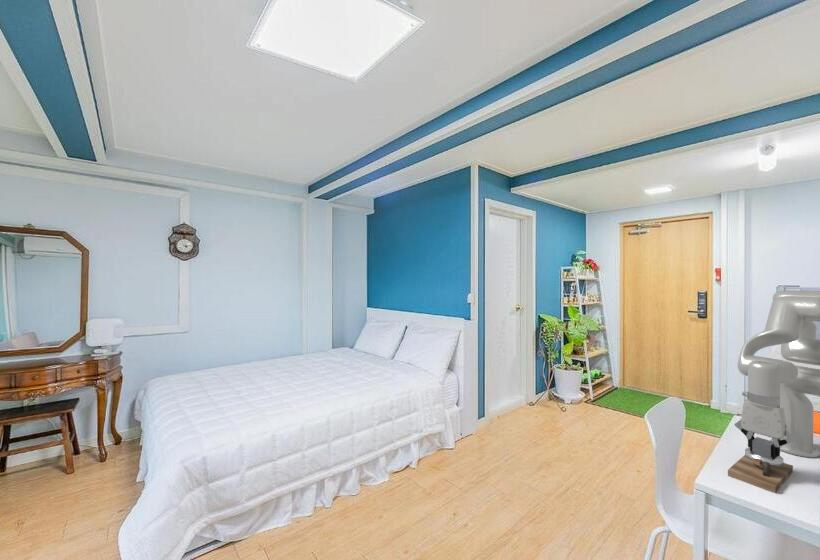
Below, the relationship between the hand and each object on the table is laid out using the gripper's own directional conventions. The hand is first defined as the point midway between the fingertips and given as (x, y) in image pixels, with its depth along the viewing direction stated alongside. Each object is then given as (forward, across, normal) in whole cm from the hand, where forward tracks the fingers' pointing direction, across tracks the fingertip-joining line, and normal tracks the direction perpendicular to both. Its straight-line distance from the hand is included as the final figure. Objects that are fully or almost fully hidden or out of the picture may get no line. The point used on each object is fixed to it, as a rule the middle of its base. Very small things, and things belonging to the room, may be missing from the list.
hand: (763, 453), depth 115 cm
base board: (+7, 0, -1) cm, 7 cm away
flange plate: (+2, 0, -1) cm, 2 cm away
